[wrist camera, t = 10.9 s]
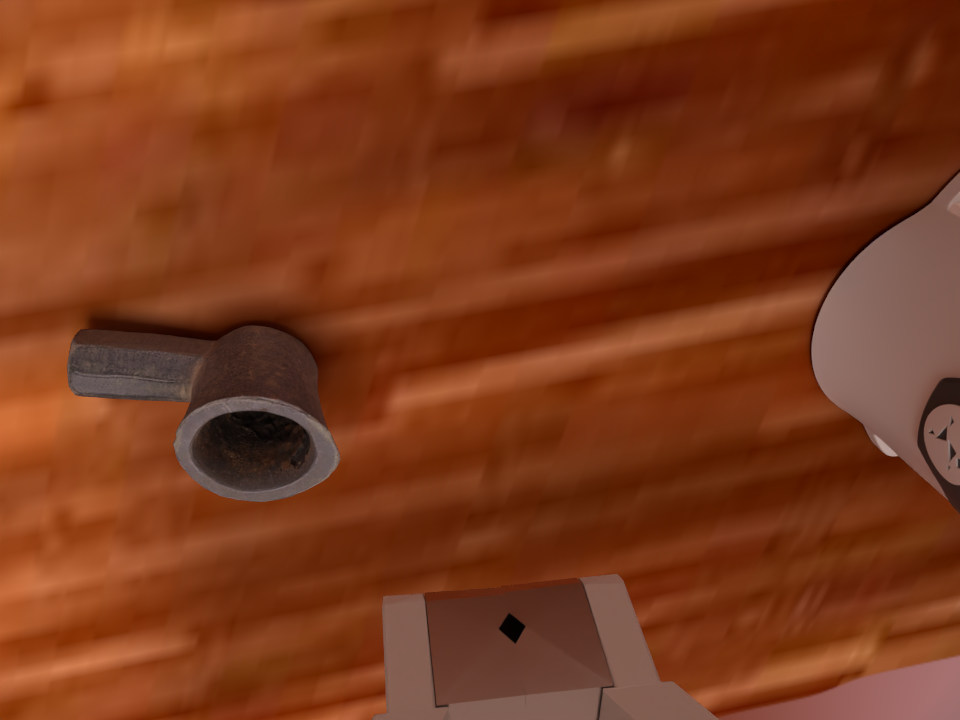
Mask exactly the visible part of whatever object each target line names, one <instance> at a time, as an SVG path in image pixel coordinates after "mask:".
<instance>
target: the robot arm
mask: <svg viewBox="0 0 960 720" xmlns="http://www.w3.org/2000/svg"><path fill="white" fill-rule="evenodd" d="M811 352H812V365H813V369H814V373H815V376H816V379H817V381H818V384H819V386H820V387H821V389H822V391H823V392H824V393H825V395H826V396H827V397H828V398H829V399H830V400H831V401H832V402H833V403H834V404H835V405H837V406H838V407H839V408H841V409H842V410H844V411H845V412H847V413H849V414H850V415H852V416H853V417H854V418H856V419H857V420H858V421H860V422H861V423H862V424H863V425H864V427H865V430H866V432H867V434H868V436H869V437H870V439H871V441H872V442H873V443H874V445H876V446H877V447H878V448H879V449H880V450H881V451H882V452H883V453H885V454H886V455H888V456H899V457H900V458H901V459H903V460H904V461H905V462H906V463H907V464H908V465H909V466H910V467H912V468H913V469H914V470H915V471H916V472H917V473H918V474H919V475H920V476H922V477H923V478H924V479H925V480H926V481H927V482H928V483H929V484H931V485H932V486H933V487H934V488H935V489H936V490H937V491H939V492H940V493H941V494H942V495H943V496H944V497H945V498H946V499H948V501H949V502H950V503H951V505H952V506H953V507H954V508H955V509H956V510H957V511H958V512H959V514H960V173H959V174H958V175H957V176H956V177H955V178H953V179H952V180H951V182H950V183H949V184H948V185H947V186H946V187H945V188H944V189H943V190H942V191H941V192H940V193H939V195H938V196H937V197H936V198H935V199H934V200H933V201H932V202H931V203H930V204H929V205H927V206H926V207H925V208H924V209H922V210H921V211H919V212H918V213H916V214H914V215H913V216H911V217H909V218H908V219H906V220H904V221H903V222H901V223H899V224H898V225H896V226H894V227H893V228H891V229H890V230H888V231H887V232H885V233H884V234H883V235H881V236H880V237H879V238H877V239H876V240H875V241H874V242H872V243H871V244H870V245H869V246H868V247H867V248H866V249H864V250H863V251H862V252H861V253H860V254H859V255H858V256H857V257H856V258H855V259H854V260H853V261H852V262H851V264H850V265H849V266H848V267H847V268H846V269H845V271H844V272H843V273H842V274H841V276H840V277H839V278H838V280H837V281H836V283H835V284H834V286H833V287H832V289H831V291H830V292H829V294H828V296H827V298H826V300H825V301H824V303H823V306H822V308H821V310H820V313H819V315H818V318H817V321H816V325H815V328H814V333H813V339H812V350H811ZM382 612H383V636H384V660H385V684H386V708H387V713H384V714H377V715H374V716H373V718H372V720H719V719H718V718H716V717H715V716H714V715H713V714H712V713H710V712H709V711H708V710H707V709H706V708H704V707H703V706H702V705H701V704H700V703H698V702H697V701H696V700H695V699H693V698H692V697H691V696H690V695H689V694H687V693H686V692H685V691H684V690H683V689H681V688H680V687H679V686H678V685H677V684H675V683H674V682H673V681H669V682H661V681H660V679H659V676H658V673H657V671H656V668H655V665H654V662H653V660H652V657H651V654H650V652H649V649H648V646H647V644H646V641H645V638H644V636H643V633H642V630H641V627H640V625H639V622H638V619H637V617H636V614H635V611H634V609H633V606H632V603H631V600H630V598H629V595H628V592H627V590H626V587H625V584H624V582H623V580H622V579H621V577H620V576H619V575H618V574H613V575H603V576H594V577H584V578H579V579H577V578H570V579H561V580H552V581H543V582H533V583H524V584H515V585H506V586H501V587H497V588H483V589H469V590H455V591H441V592H427V593H425V595H424V594H423V593H420V594H408V595H395V596H384V597H383V606H382Z"/></svg>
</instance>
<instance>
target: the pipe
mask: <svg viewBox="0 0 960 720" xmlns="http://www.w3.org/2000/svg"><path fill="white" fill-rule="evenodd" d="M67 373H68V383H69V387H70V389H71V391H72V392H73V393H74V394H75V395H77V396H84V397H100V398H113V399H129V400H150V401H176V402H190V405H189V407H188V410H187V412H186V414H185V416H184V418H183V420H182V422H181V423H180V425H179V427H178V429H177V431H176V438H175V440H174V443H173V445H174V449H175V453H176V457H177V459H178V461H179V462H180V464H181V466H182V467H183V468H184V470H185V471H186V472H187V473H188V474H189V475H190V476H191V477H192V478H193V479H194V480H195V481H196V482H198V483H199V484H200V485H201V486H202V487H204V488H206V489H208V490H209V491H211V492H213V493H216V494H218V495H220V496H223V497H227V498H233V499H237V500H246V501H255V502H260V501H271V500H278V499H283V498H287V497H290V496H293V495H295V494H298V493H300V492H303V491H305V490H307V489H309V488H311V487H313V486H315V485H317V484H318V483H320V482H322V481H324V480H325V479H326V478H328V477H329V475H330V474H331V473H332V472H333V471H334V470H335V469H336V467H337V465H338V464H339V461H340V453H339V451H338V449H337V447H336V444H335V442H334V440H333V438H332V435H331V433H330V432H329V431H328V428H327V425H326V423H325V420H324V416H323V413H322V409H321V405H320V401H319V395H318V389H317V380H318V367H317V365H316V362H315V360H314V358H313V356H312V355H311V353H310V351H309V350H308V349H307V347H306V346H305V345H304V344H303V343H302V342H301V341H299V340H298V339H296V338H295V337H293V336H291V335H289V334H287V333H285V332H282V331H280V330H277V329H274V328H270V327H265V326H253V325H249V326H243V327H240V328H237V329H235V330H233V331H231V332H230V333H228V334H226V335H224V336H223V337H221V338H220V339H218V340H217V341H209V340H201V339H195V338H187V337H179V336H171V335H161V334H154V333H139V332H124V331H113V330H101V329H81V330H80V331H79V332H78V333H77V334H76V335H75V337H74V338H73V340H72V342H71V347H70V351H69V357H68V364H67Z"/></svg>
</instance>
